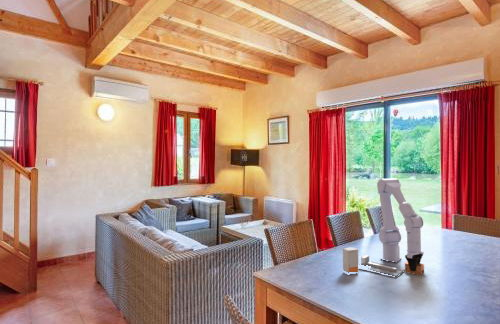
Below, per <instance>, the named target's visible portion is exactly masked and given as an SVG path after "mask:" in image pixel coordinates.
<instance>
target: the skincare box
mask: <svg viewBox="0 0 500 324" xmlns="http://www.w3.org/2000/svg"><path fill="white" fill-rule="evenodd" d="M358 265H359V249H358V248H356V247H351V246H350V247H345V248H344V247H343V248H342V271H343V270H344V271H346V272H348V273H349V272H358V273H359V269H358Z"/></svg>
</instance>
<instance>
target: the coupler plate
mask: <svg viewBox="0 0 500 324" xmlns="http://www.w3.org/2000/svg"><path fill="white" fill-rule="evenodd" d="M369 261H370V255H368V254H364V255H363V256H361V258H360V264H361V265H364V266H366V265H368V266H371V268H370V270H373V271H376V272H380V273H384V274H388V275H392V276H395V277H397V276H398V275H399V274H401V273H402V272H403V271H404V272H405V268H402V267H398V266H393V265H389V264H388V265H387V264H384V263H379V262H374V261H371V262H369ZM368 269H369V268H368ZM404 272H403V273H404ZM403 273H402V274H403ZM402 274H401V275H402ZM398 277H399V276H398ZM398 277H397V278H398Z"/></svg>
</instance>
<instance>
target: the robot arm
mask: <svg viewBox="0 0 500 324" xmlns="http://www.w3.org/2000/svg"><path fill="white" fill-rule="evenodd" d="M376 184H377V185H376V187H377V193H378V194H379V200H380V207H381V215H382V216H381V217H382V224H383V225H382V226H381V227H380V228H379V229H378V231H379V235H378V239H379V241H380V242H381V244H382V258H383V259H385V260H388V261H394V262H396V263H398V262H400V261H401V260H402V257H401V255H400V251H401V249H400V245H399V244H400V243H401V241H402V235H401V232H400V228H398V227H397V226H396V225H395V222H394V214H393V208H392V201H391V200H392V199H391V196H393V197H394V199H395V200H396V202H397V203H398V210H399V211H400V214H401V216H402V217H403V219H404V221H403V224H404V226H405V231H406V239H407V240H406V244H407V247H406V249H407V250H406V254H405V255H404V257H405V260H406V262H408V264H409V268H410V271H414V272H415V271H416V265H417V263H421V261H422V258H423V256H424V251H423V250H422V242H421V241H422V239H421V238H422V237H421V235H422V234H421V232H422V231H421V230H422V228H423V226H424V219H423V217H422V216H421V215H420V214H419V215H418V213H416V212H415V210H414V209H413V206H412V204H411V203H409V202H407V201H406V198H405V197H404V196H405V195H404V194H403V192H402V189H401V187H402V186H401V182H400V179H398V178H396V177H394V178H380V179H379V180H378V181H377V183H376ZM400 259H401V260H400ZM388 261H387V262H388ZM397 261H398V262H397Z"/></svg>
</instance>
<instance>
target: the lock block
mask: <svg viewBox="0 0 500 324" xmlns="http://www.w3.org/2000/svg"><path fill="white" fill-rule="evenodd" d="M404 269H405V271H406V272H405V271H404V272H405V273H407V272H410V273H409V274H411V273H414V274H413V275H416V274H418V275H417V276H420V275H423V274H425V264H424V263H422V262H420V263H417V265H416V271H415V272H414V271H410V268H409V264H408V262H407V261H406V262H405V263H404Z"/></svg>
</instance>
